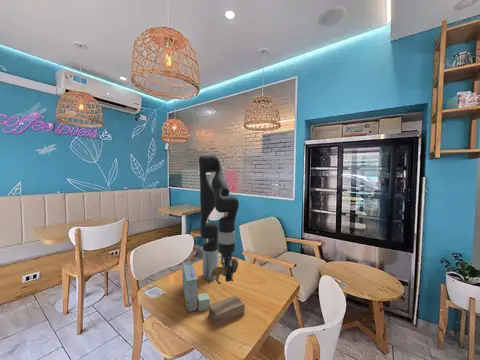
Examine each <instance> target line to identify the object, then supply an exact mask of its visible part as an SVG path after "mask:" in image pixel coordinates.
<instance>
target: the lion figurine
mask: <svg viewBox="0 0 480 360" xmlns="http://www.w3.org/2000/svg"><path fill="white" fill-rule="evenodd" d="M232 261H234V266H233V273H231V281H230V282H234V279H233V277H234V274H235V273H236V272H237V270H238V267H239V264H240V263H239V259H238V258H233V257H232ZM225 272H226V271H225V267H222V266H218V267H215V268H214V269H213V271H212V273H211V278H210V280H209V281H208V285H210V284H211V283H214V279H213V280H212V278H213V277H214V276H216V279H215V282H216V283H217V284H218V285H221V283H222V282H221V281H219V278H220V275H221V276H223V275H226V273H225Z"/></svg>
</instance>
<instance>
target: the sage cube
mask: <svg viewBox="0 0 480 360" xmlns="http://www.w3.org/2000/svg"><path fill="white" fill-rule="evenodd" d="M210 300H211V298H210V296H209V293H208V292H206V293H201V294H200V293H199V294H198V312H201V311H206V310H209V305H210V304H211V301H210Z"/></svg>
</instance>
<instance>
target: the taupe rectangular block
mask: <svg viewBox="0 0 480 360" xmlns="http://www.w3.org/2000/svg"><path fill="white" fill-rule="evenodd" d="M243 315H245V303H244V302H243V301H242V300H241V299H240V298H239V297H238V296H237V295H232V296H229V297H227V298H225V299H222V300H221V299H220V300H219V301H215V302H213V303H210V305H209V309H208V316H209V318H210V319H211V320H212V322H213V323H214V325H215V326H216V327H219V326H220V325H223V324H225V323H228V322H230V321H232V320H235V319H237V318H238V317H241V316H243Z"/></svg>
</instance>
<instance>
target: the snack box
mask: <svg viewBox="0 0 480 360" xmlns="http://www.w3.org/2000/svg"><path fill="white" fill-rule="evenodd" d="M181 268H182V269H181V270H182V292H183V297H184V304H185V309H186V313H190V312H195V311H199V309H198V295H199V294H198V277H197V274H196V272H195V269H194V266H193V261H183V262H181Z"/></svg>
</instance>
